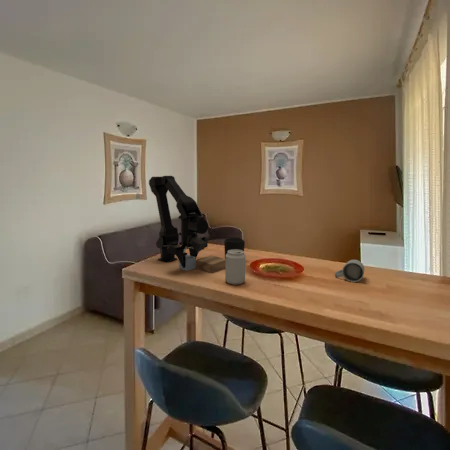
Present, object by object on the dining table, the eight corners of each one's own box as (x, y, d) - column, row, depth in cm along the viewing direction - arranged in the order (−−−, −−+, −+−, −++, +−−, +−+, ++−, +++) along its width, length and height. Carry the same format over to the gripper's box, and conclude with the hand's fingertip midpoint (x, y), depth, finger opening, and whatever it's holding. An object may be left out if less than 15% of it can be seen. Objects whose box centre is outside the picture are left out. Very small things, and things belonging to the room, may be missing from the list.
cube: (179, 268, 131) (179, 257, 130) (188, 265, 134) (187, 254, 133) (186, 270, 127) (186, 259, 126) (195, 268, 131) (195, 256, 130)
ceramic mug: (364, 277, 121) (365, 258, 120) (363, 283, 114) (364, 263, 113) (335, 273, 126) (336, 255, 125) (333, 279, 119) (334, 260, 118)
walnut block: (195, 268, 131) (195, 259, 131) (211, 263, 139) (211, 255, 138) (212, 274, 125) (212, 264, 124) (228, 268, 132) (228, 259, 131)
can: (243, 286, 111) (244, 254, 109) (223, 284, 112) (223, 253, 110) (246, 279, 118) (247, 249, 116) (227, 277, 119) (227, 248, 117)
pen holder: (220, 261, 141) (220, 240, 139) (230, 257, 149) (231, 236, 147) (238, 264, 136) (238, 243, 134) (247, 260, 144) (248, 239, 142)
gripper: (185, 236, 115) (185, 275, 118) (217, 229, 130) (216, 264, 132) (165, 232, 122) (166, 270, 125) (198, 226, 137) (198, 260, 139)
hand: (188, 266), depth 130 cm, fingers closed on cube, 5 cm apart
